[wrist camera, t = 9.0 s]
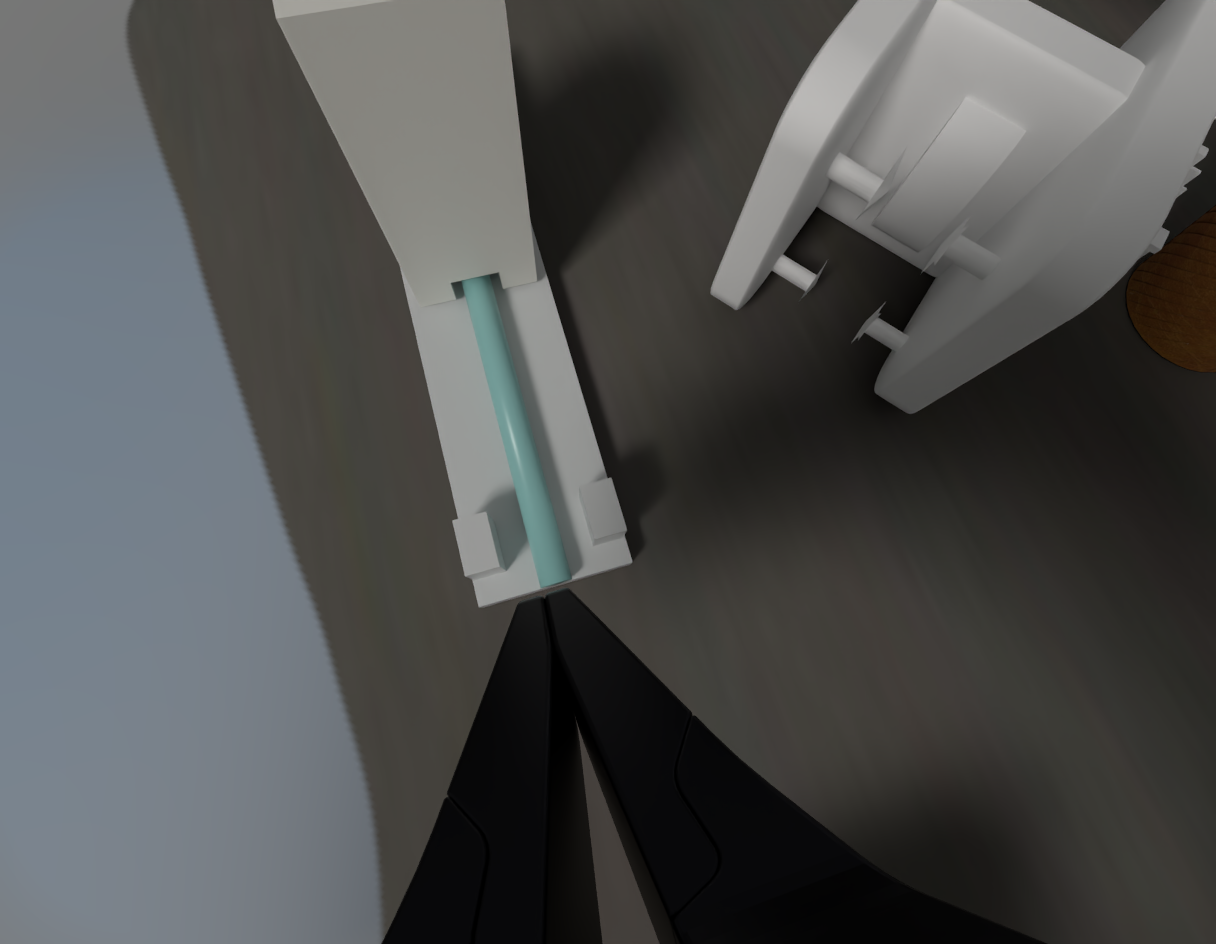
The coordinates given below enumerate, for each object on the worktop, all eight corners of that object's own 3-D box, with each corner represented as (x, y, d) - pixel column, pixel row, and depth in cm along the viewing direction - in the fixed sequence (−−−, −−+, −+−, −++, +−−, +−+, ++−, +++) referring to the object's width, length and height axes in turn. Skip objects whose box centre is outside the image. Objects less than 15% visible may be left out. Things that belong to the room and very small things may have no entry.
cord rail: (630, 564, 23) (645, 550, 18) (483, 607, 22) (456, 604, 17) (489, 92, 28) (471, -17, 23) (368, 114, 27) (323, 6, 22)
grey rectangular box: (537, 281, 24) (502, -17, 13) (420, 307, 23) (276, 18, 12) (509, 185, 25) (454, -166, 14) (397, 208, 25) (245, -140, 13)
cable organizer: (847, 105, 29) (1016, -215, 18) (1029, 209, 28) (1329, -61, 17) (694, 314, 26) (787, 76, 14) (896, 442, 25) (1165, 294, 13)
